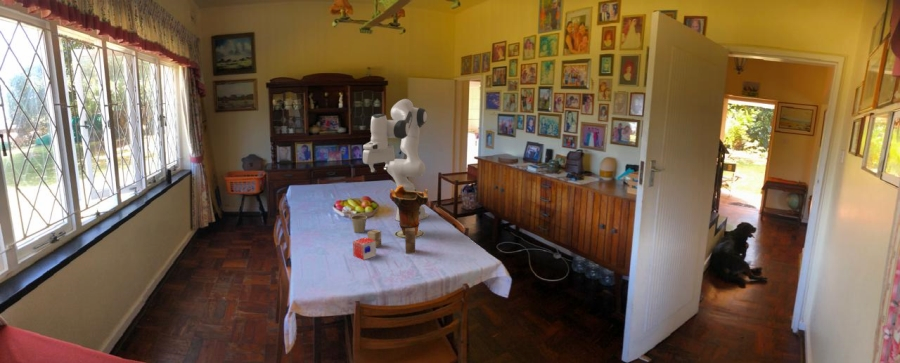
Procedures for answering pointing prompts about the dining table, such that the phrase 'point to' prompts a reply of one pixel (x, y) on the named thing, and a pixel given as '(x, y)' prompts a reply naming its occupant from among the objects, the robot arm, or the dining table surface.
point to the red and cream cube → (364, 248)
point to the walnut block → (410, 240)
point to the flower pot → (359, 223)
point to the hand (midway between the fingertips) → (379, 170)
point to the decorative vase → (408, 209)
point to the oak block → (375, 236)
